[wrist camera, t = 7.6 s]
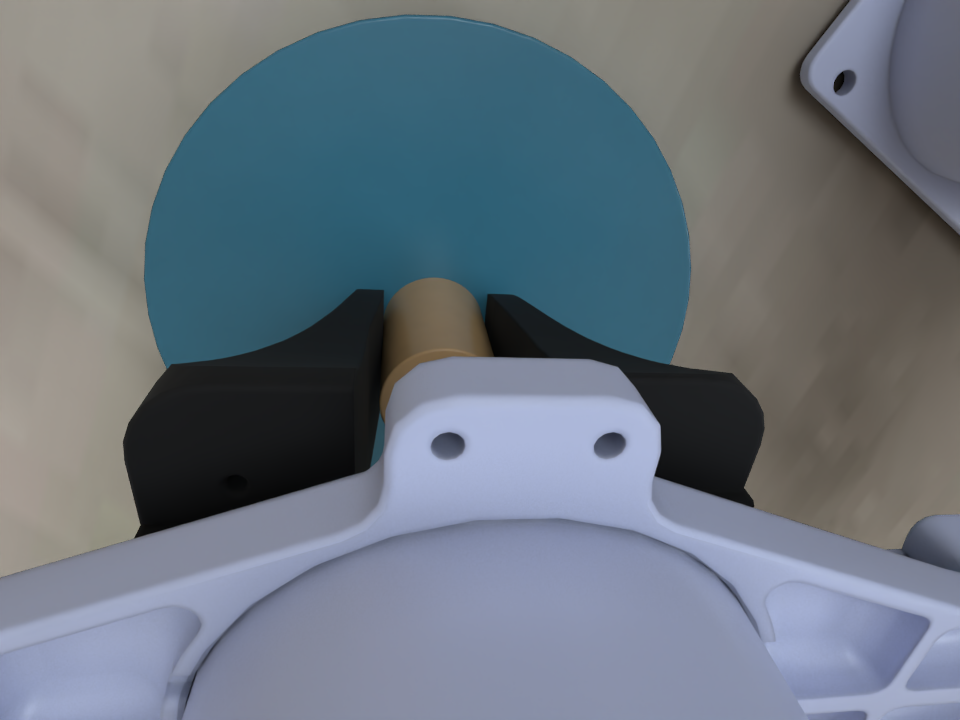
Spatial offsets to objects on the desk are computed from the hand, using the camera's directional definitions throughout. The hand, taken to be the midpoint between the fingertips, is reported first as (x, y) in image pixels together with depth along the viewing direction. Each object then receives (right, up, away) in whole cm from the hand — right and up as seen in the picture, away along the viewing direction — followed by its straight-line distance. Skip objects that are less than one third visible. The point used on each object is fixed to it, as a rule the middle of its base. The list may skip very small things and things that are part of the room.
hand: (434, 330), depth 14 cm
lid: (0, 0, +1) cm, 1 cm away
